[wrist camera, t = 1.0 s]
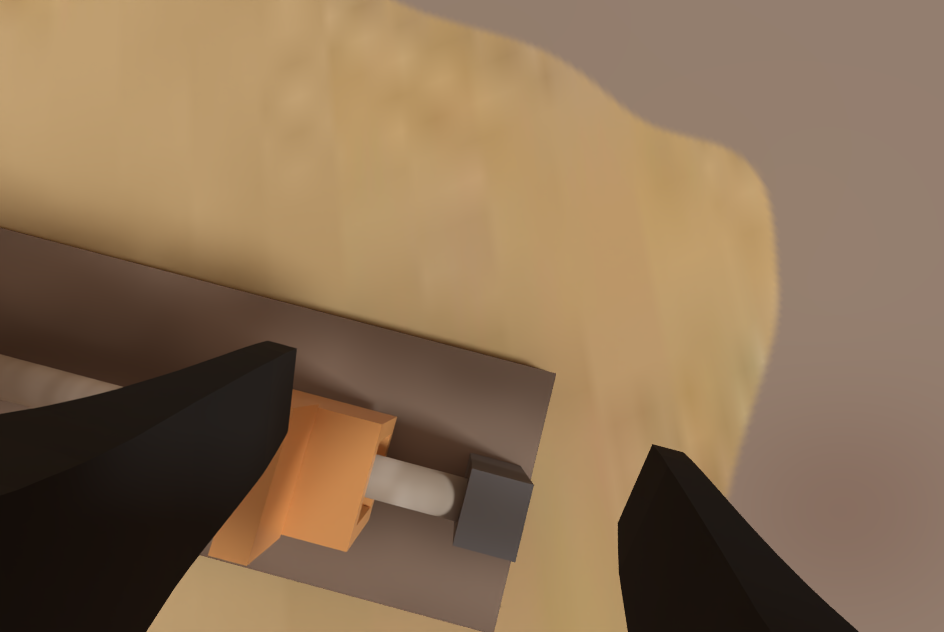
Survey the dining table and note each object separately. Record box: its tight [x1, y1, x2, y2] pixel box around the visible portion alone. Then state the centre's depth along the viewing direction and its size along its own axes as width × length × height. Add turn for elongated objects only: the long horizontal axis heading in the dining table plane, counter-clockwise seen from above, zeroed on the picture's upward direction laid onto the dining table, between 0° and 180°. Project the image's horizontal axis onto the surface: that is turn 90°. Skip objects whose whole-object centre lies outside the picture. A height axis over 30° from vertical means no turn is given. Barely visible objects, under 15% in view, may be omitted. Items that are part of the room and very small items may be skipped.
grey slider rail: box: [0, 228, 556, 632], centre depth 20 cm, size 10×28×6 cm, turn 75°
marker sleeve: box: [208, 389, 397, 566], centre depth 17 cm, size 4×5×6 cm
